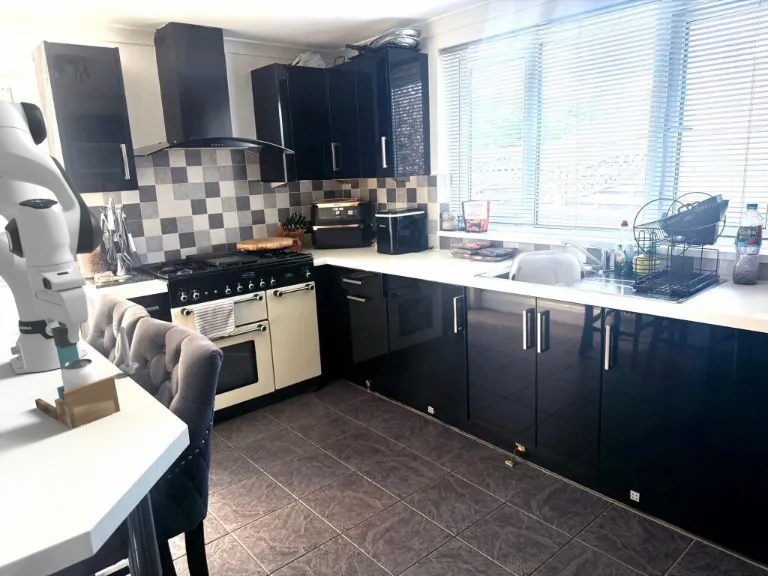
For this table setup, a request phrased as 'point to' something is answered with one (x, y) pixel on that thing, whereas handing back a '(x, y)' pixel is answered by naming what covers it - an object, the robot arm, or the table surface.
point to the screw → (126, 354)
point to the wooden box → (84, 403)
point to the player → (64, 350)
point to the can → (78, 373)
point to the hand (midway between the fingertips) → (65, 338)
